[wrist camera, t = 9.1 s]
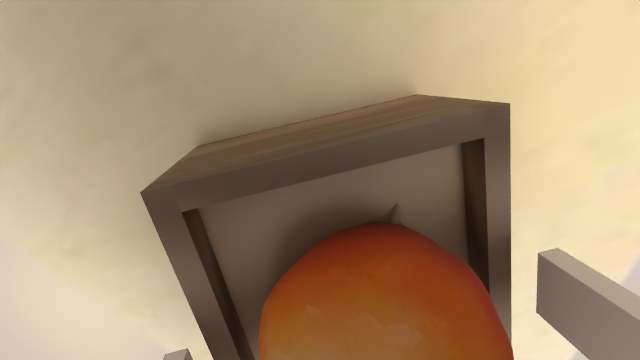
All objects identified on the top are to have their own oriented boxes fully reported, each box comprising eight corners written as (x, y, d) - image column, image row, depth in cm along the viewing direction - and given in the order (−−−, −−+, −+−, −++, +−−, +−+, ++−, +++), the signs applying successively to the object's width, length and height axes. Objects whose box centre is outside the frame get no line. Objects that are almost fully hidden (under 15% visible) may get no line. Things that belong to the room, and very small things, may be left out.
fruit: (520, 284, 13) (584, 560, 7) (366, 303, 18) (324, 486, 12) (440, 134, 11) (434, 365, 5) (283, 200, 15) (172, 364, 9)
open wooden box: (196, 146, 17) (139, 192, 10) (418, 94, 18) (509, 103, 11) (260, 324, 21) (251, 445, 14) (436, 276, 22) (511, 369, 15)
